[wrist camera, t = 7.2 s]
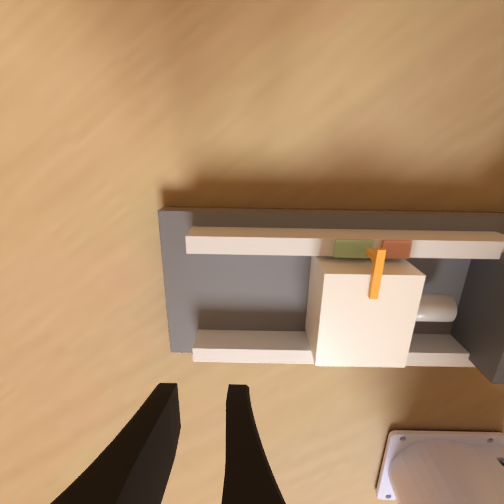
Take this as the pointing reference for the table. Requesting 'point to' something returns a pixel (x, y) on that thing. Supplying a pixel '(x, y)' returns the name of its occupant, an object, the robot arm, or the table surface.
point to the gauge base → (298, 273)
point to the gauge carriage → (368, 309)
